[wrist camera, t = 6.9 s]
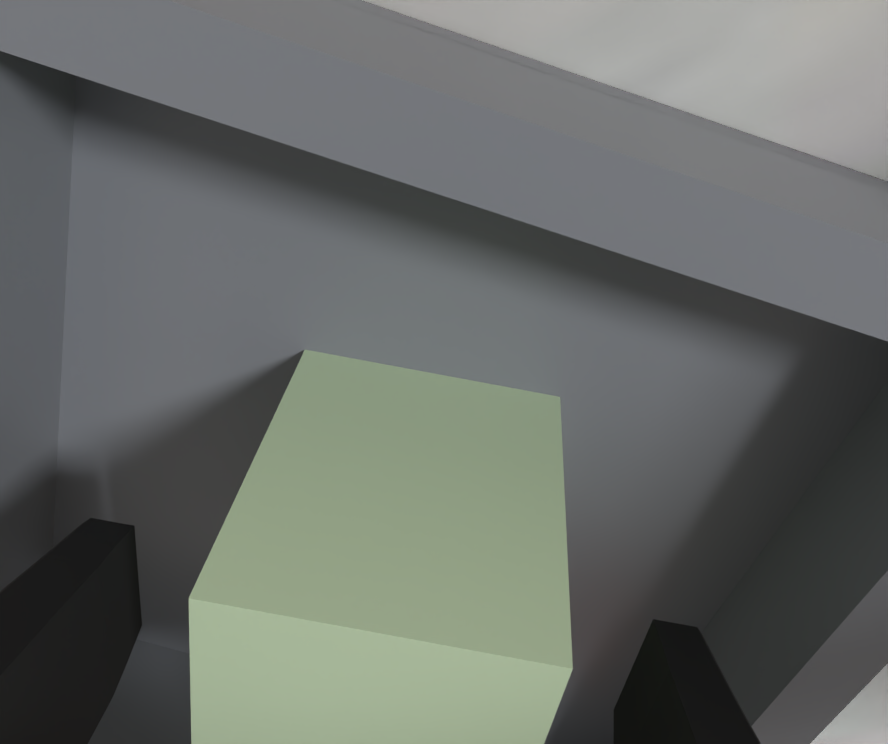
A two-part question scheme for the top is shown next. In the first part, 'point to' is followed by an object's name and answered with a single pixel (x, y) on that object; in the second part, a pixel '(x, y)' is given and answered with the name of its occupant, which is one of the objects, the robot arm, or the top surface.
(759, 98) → the top surface
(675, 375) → the tray
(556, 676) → the green block
